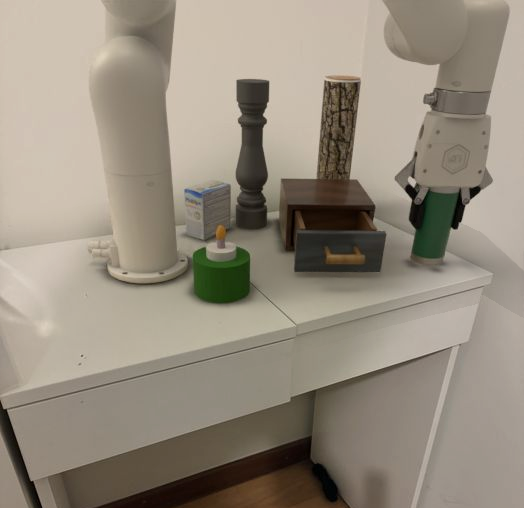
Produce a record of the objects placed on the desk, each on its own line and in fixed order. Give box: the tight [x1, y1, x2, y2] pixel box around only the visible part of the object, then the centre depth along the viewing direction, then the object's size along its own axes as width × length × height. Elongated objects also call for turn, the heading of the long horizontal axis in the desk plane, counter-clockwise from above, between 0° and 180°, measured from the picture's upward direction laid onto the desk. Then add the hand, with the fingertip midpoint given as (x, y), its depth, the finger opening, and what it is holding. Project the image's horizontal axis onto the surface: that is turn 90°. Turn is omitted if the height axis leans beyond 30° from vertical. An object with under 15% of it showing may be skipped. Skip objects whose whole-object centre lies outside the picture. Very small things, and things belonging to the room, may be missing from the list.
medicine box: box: [183, 179, 232, 241], centre depth 94 cm, size 8×4×9 cm, turn 144°
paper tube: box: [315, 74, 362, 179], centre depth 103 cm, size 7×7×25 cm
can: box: [410, 187, 460, 266], centre depth 83 cm, size 5×5×13 cm
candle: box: [191, 225, 251, 304], centre depth 74 cm, size 8×8×10 cm
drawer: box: [292, 209, 388, 273], centre depth 83 cm, size 20×14×6 cm
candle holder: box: [235, 78, 270, 230], centre depth 95 cm, size 6×6×25 cm
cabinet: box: [278, 178, 376, 252], centre depth 95 cm, size 16×15×8 cm
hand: (433, 225), depth 83 cm, fingers closed on can, 5 cm apart
